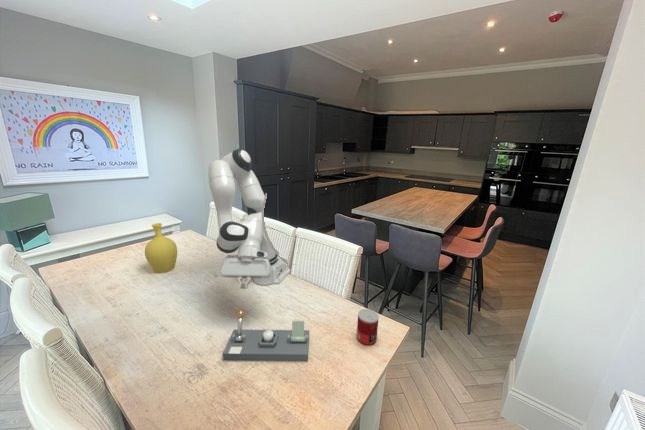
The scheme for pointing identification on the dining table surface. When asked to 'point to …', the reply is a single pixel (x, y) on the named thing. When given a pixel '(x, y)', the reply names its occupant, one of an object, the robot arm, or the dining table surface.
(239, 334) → the steel toggle
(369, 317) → the canned food
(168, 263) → the vase
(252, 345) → the switch panel
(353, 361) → the dining table surface
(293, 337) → the green paddle
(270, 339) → the push button
